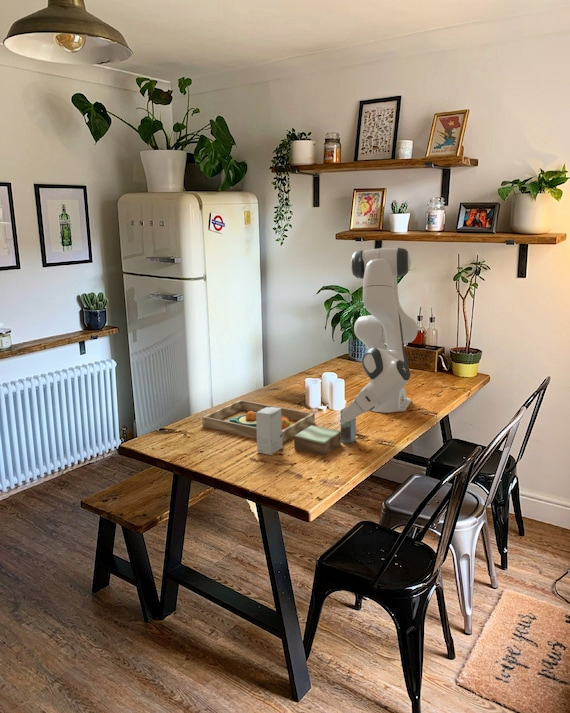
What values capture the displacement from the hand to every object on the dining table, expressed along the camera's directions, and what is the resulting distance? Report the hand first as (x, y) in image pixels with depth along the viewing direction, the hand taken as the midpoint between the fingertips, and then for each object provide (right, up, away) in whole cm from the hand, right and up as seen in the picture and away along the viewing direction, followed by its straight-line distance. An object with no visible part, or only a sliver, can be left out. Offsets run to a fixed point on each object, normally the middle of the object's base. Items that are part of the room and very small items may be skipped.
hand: (347, 418), depth 219 cm
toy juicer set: (-34, -6, +18) cm, 39 cm away
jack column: (0, -8, +2) cm, 9 cm away
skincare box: (-28, -11, -5) cm, 30 cm away
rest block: (-11, -10, -3) cm, 15 cm away
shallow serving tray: (-33, -5, +20) cm, 39 cm away
